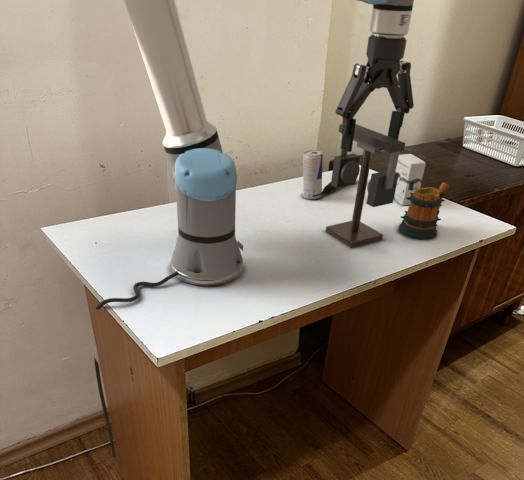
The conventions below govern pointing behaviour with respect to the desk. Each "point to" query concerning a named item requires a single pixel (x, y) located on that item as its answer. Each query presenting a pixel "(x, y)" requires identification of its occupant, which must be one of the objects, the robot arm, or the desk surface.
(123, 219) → the desk surface
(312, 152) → the energy drink
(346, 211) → the desk surface
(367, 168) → the stand
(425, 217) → the mug
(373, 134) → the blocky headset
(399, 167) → the ink box
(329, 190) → the microphone
